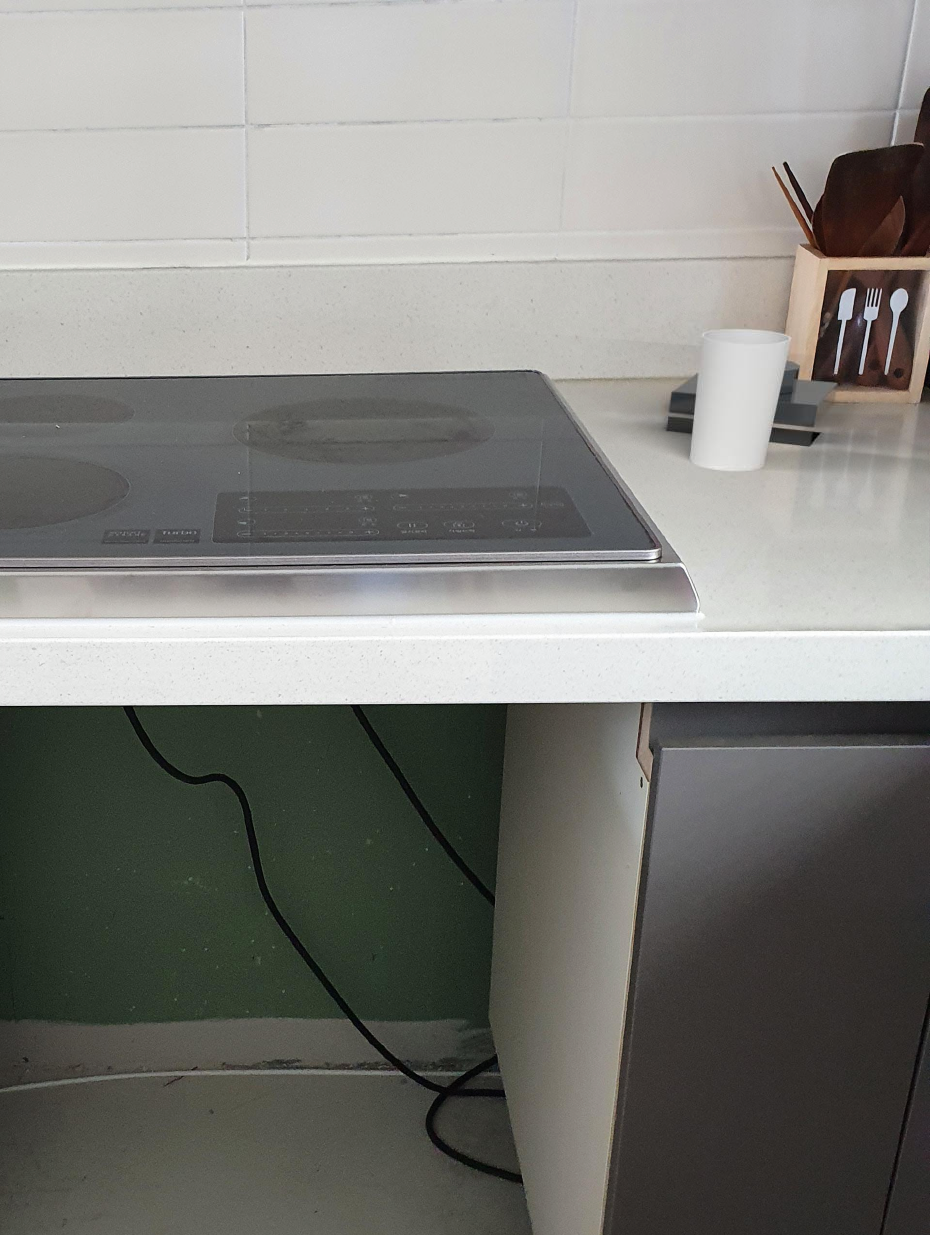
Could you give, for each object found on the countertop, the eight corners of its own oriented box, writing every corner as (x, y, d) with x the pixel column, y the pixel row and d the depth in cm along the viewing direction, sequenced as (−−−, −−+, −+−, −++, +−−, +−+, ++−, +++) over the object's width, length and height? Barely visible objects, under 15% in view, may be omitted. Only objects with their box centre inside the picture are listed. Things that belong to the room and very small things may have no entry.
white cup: (777, 473, 106) (800, 344, 102) (690, 471, 108) (708, 344, 103) (761, 452, 112) (781, 329, 108) (678, 450, 113) (695, 328, 109)
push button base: (830, 421, 121) (842, 359, 119) (809, 447, 113) (821, 381, 111) (694, 408, 127) (702, 348, 124) (666, 431, 119) (674, 368, 117)
